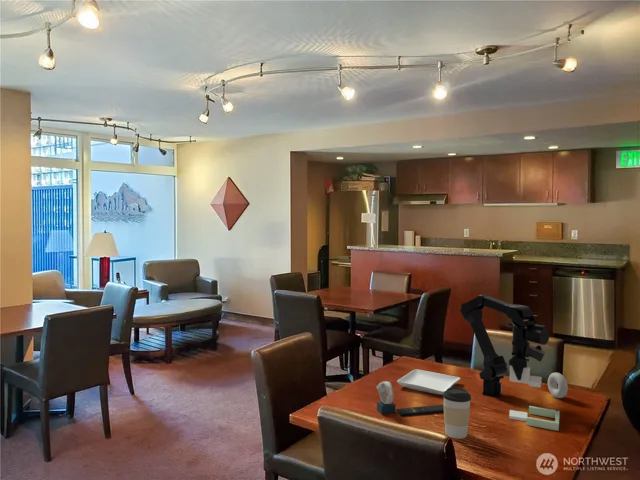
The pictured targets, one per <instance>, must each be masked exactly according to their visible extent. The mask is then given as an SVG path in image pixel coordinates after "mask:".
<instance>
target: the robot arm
mask: <svg viewBox="0 0 640 480" xmlns="http://www.w3.org/2000/svg"><path fill="white" fill-rule="evenodd" d="M486 308H489V309H492V310H494V311H497V312H500V313H501V314H504V315H506V317H507V318H508V319H509V320H511V321H510V322H508V323H507V326H510V327H512V340H511V345H512V346H511V347H512V348H511V350H512V351H511V356H510V357H509V359H508V364H507V362H506V360H505V358H504V356H503V355H499V354H498V353H497V352H496V351H495V347H494V345H493V344H492V341H491V338H490V336H489V333H488V331H487V329H486V326H485V325H484V322H483V310H484V309H486ZM459 311H460V314H461V315H462V317H463V319H464V320H465V321H466V322H468V324H469V325H470V326H471V329H472V331H473V335H474V336H475V339H476V341H477V344H478V346H479V349H480V350H481V352H482V355H483V363H482V364H483V370H482V371H480V372H479V378H480V379H481V380H483V381H482V382H483V383H482V392H481V393H482V394H481V395H484V396H490V397H496V398H497V397H498V398H499V397H500V396H501V394H502V393H503V392H502V389H503V388H502V387H503V383H502V382H501V379H504V377H505V375H506V374H507V372H508V365H509V367H510V366H512V368H513V370H514V372H515V375H516V377H517V379H518V380H521V377H522V372H523V368H526V367H527V366H528V365H529V361H530V359H529V358H533V359H535V360H536V361H537V362H542V360H543V358H544V356H545V353H546V352H545V350H543V347H542V346H544V345H547V344H548V342H549V341H550V334H549V331H548V330H547V328H546V327H547V326H546V325H540V324H539V323H538V321H537V319H536V318H535V315H534V314H533V312H532V310H531V307H530V306H527V305H522V304H514V303H509V302H506V301H503V300H501V299H498V298H495V297H492V296H490V295H489V294H479V295H477V296H476V297H475V298H473V299H470V300H468V301H467V302H463V303H462V304H461V306H460V308H459ZM531 343H535V344H537V345H535V346H532V345H531Z"/></svg>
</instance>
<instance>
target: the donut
mask: <svg viewBox="0 0 640 480" xmlns="http://www.w3.org/2000/svg"><path fill="white" fill-rule="evenodd" d="M547 387H548V391H549V392H550V394H551V396H553V398H557V399H562V398H564V397H566V396H567V393H568V390H569V388H568V381H567V380H566V378H565V377H564V375H563V374H561V373H560V372H551V373H550V374H549V376H548V379H547Z"/></svg>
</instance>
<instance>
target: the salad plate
mask: <svg viewBox="0 0 640 480" xmlns="http://www.w3.org/2000/svg"><path fill="white" fill-rule="evenodd" d="M460 380H461V377H459V376H453V375H449V374H443V373H439V372H434V371H428V370H424V369H423V370H422V369H416V368H415V369H413V370H411V371H410V372H408V373H407V374H405V375H404V376H402V377H400V378H399V379H398V380H397V381H396V382H397V383H398V385H400V386H402V387H404V388H407V389H411V390H413V391H418V392H424V393H429V394H433V395H440V396H443V392H444V391H446V390H447V389H448V388H453V387H454V385H456V384H457V383H458V382H459V381H460Z"/></svg>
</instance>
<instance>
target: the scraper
mask: <svg viewBox="0 0 640 480" xmlns="http://www.w3.org/2000/svg"><path fill="white" fill-rule="evenodd" d="M509 382H513V383H520V384H524V385H525V384H526V385H528V386H529V387H533V388H534V387H535V388H542V376H537V375H531V367H530V366H528V365H527V367H526V368H523V372H522V377H521V380H518V379H517V377H516V375H515V372H514V370H513V368H512V366H510V365H509Z"/></svg>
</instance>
